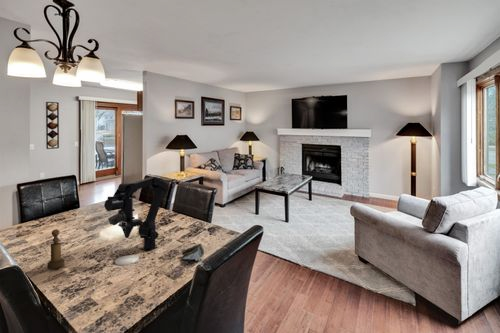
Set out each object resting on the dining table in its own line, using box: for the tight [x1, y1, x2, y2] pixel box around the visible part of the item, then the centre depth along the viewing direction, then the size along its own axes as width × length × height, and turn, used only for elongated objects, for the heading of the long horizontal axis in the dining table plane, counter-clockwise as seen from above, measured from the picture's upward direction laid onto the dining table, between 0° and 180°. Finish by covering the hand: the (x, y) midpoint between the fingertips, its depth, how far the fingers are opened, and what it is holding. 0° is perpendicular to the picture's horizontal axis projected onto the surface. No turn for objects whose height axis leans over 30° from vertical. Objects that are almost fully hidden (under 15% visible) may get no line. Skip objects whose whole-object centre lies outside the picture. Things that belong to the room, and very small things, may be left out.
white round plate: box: [114, 254, 140, 266], centre depth 128 cm, size 11×11×1 cm
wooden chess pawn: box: [46, 228, 65, 270], centre depth 121 cm, size 7×6×18 cm
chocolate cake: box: [181, 243, 205, 261], centre depth 130 cm, size 10×7×12 cm
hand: (126, 237), depth 128 cm, fingers closed
